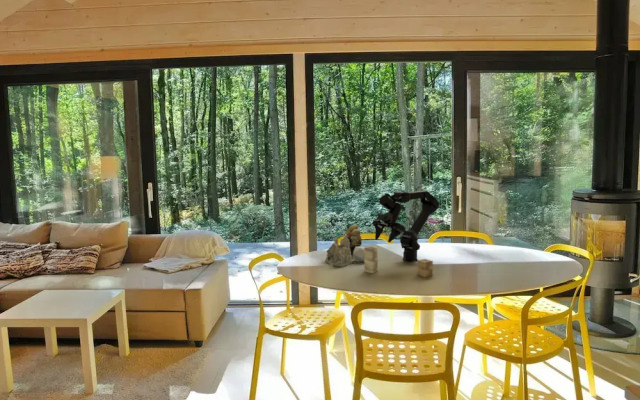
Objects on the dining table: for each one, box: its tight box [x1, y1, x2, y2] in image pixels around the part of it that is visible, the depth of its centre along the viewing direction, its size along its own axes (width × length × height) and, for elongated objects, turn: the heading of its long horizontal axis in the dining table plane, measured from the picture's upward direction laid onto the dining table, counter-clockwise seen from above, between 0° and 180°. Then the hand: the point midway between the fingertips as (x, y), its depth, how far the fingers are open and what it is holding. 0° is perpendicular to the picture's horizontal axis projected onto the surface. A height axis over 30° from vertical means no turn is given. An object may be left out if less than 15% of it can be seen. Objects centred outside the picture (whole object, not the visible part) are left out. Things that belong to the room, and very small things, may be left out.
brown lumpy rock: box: [345, 224, 363, 257], centre depth 262 cm, size 18×12×17 cm, turn 1°
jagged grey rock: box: [325, 234, 353, 267], centre depth 242 cm, size 16×16×15 cm
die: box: [352, 246, 366, 263], centre depth 244 cm, size 8×9×10 cm
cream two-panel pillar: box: [364, 245, 379, 274], centre depth 222 cm, size 5×4×12 cm
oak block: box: [416, 258, 434, 278], centre depth 215 cm, size 5×5×7 cm
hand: (382, 240), depth 231 cm, fingers open, 9 cm apart
